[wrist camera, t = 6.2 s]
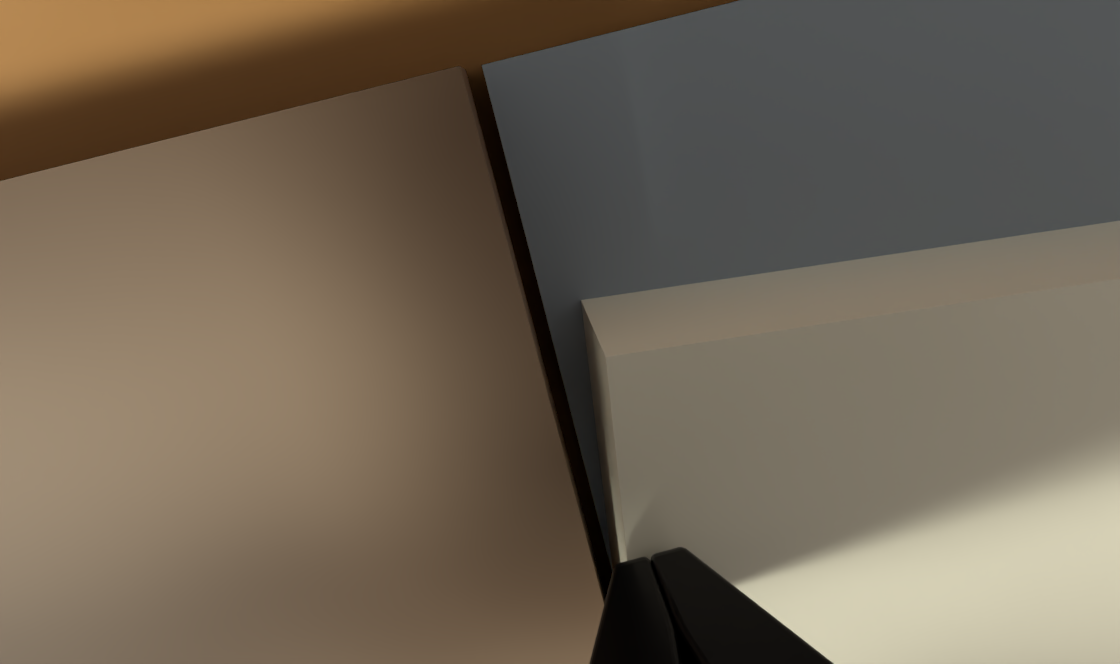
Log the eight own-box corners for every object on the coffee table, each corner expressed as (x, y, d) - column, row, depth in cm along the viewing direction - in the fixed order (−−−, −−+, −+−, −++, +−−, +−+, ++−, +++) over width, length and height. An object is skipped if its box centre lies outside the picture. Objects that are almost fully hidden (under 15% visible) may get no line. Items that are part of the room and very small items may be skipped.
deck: (647, 755, 12) (675, 873, 11) (3, 925, 12) (-83, 1076, 10) (466, 69, 8) (459, 65, 6) (-518, 316, 8) (-820, 386, 6)
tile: (1146, 558, 12) (1274, 650, 10) (621, 650, 11) (649, 765, 9) (1224, 205, 9) (1407, 235, 8) (581, 300, 9) (606, 357, 7)
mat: (1326, 575, 13) (1352, 590, 12) (658, 752, 12) (663, 772, 12) (1489, -188, 8) (1536, -200, 8) (481, 66, 8) (481, 64, 8)
